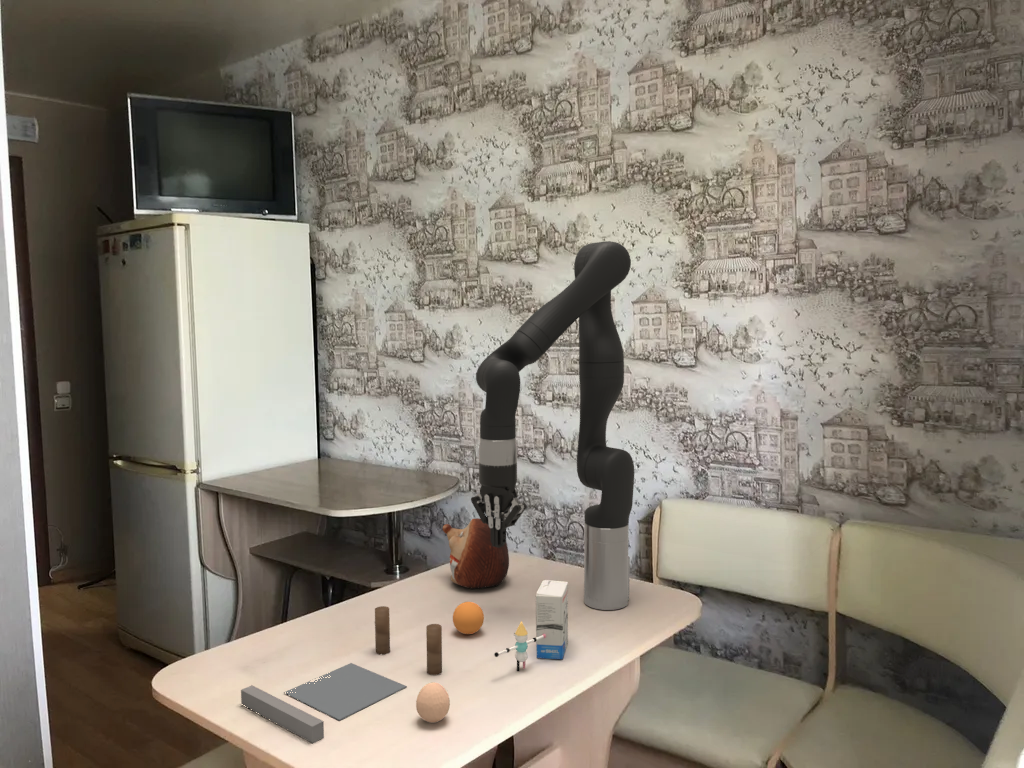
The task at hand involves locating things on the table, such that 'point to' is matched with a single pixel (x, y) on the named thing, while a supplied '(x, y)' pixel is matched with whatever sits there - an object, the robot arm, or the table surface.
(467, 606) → the ball
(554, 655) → the ink box
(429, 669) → the post
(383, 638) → the post
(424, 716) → the egg
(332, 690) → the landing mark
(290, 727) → the wall
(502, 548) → the figurine
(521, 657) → the toy figure
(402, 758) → the table surface
